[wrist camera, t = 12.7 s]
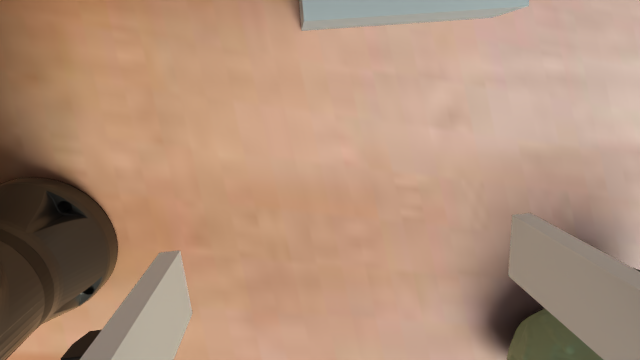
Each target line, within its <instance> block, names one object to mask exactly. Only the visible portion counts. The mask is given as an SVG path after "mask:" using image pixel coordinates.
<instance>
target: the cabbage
mask: <svg viewBox="0 0 640 360" xmlns="http://www.w3.org/2000/svg"><path fill="white" fill-rule="evenodd" d="M507 360H603V359H602V358H601V357H600V356H599V355H598V354H596V353H595V352H594V351H593V350H592V349H591V348H590V347H588V346H587V345H586V344H585V343H584V342H583V341H582V340H580V339H579V338H578V337H577V336H576V335H575V334H574V333H573V332H571V331H570V330H569V329H568V328H567V327H566V326H565V325H563V324H562V323H561V322H560V321H559V320H558V319H557V318H555V317H554V316H553V315H552V314H551V313H550V312H549V311H547V310H546V309H543V310H541V311H539V312H537V313H535V314H533V315H531V316H529V317H528V318H526V319H525V320H524V321H522V322H521V323H520V325H519V326H518V328H517V329H516V331H515V334H514V337H513V339H512V341H511V344H510V347H509V350H508V355H507Z"/></svg>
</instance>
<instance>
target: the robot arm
mask: <svg viewBox="0 0 640 360" xmlns="http://www.w3.org/2000/svg"><path fill="white" fill-rule="evenodd" d="M117 253H118V246H117V239H116V235H115V231H114V229H113V226H112V224H111V222H110V220H109V219H108V217H107V215H106V214H105V213H104V211H103V210H102V209H101V208H100V207H99V205H98V204H97V203H96V202H95V201H93V200H92V199H91V198H90V197H89V196H87V195H86V194H84V193H83V192H81V191H80V190H78V189H76V188H74V187H72V186H70V185H68V184H65V183H63V182H60V181H56V180H52V179H47V178H38V177H29V178H19V179H14V180H11V181H8V182H5V183H2V184H0V360H6V359H7V358H8V357H9V356H10V355H11V354H12V353H13V352H14V351H15V350H16V349H17V348H18V347H19V346H20V345H21V344H22V343H23V342H24V341H25V340H26V339H27V338H28V337H29V336H30V335H31V334H32V333H33V332H34V331H35V330H36V329H37V328H38V327H39V326H40V325H41V324H43V323H45V322H47V321H49V320H51V319H53V318H55V317H58V316H60V315H62V314H64V313H66V312H68V311H70V310H72V309H75V308H77V307H79V306H80V305H82V304H83V303H85V302H86V301H88V300H89V299H90V298H91V297H93V296H94V295H95V294H96V293H97V292H98V290H99V289H100V288H101V287H102V286H103V285H104V284H105V283H106V282H107V280H108V279H109V277H110V276H111V274H112V272H113V270H114V267H115V264H116V261H117ZM508 276H509V277H510V278H511V279H512V280H513V281H514V282H516V283H517V284H518V285H519V286H520V287H521V288H522V289H524V290H525V291H526V292H527V293H528V294H529V295H530V296H531V297H533V298H534V299H535V300H536V301H537V302H538V303H539V304H541V305H542V306H543V307H544V308H545V309H546V310H547V311H549V312H550V313H551V314H552V315H553V316H554V317H555V318H557V319H558V320H559V321H560V322H561V323H562V324H563V325H565V326H566V327H567V328H568V329H569V330H570V331H571V332H573V333H574V334H575V335H576V336H577V337H578V338H579V339H580V340H582V341H583V342H584V343H585V344H586V345H587V346H588V347H590V348H591V349H592V350H593V351H594V352H595V353H596V354H598V355H599V356H600V357H601V358H602V359H603V360H640V270H638V269H635V268H632V267H630V266H628V265H626V264H624V263H623V262H621V261H619V260H617V259H615V258H613V257H611V256H610V255H608V254H606V253H604V252H602V251H600V250H598V249H597V248H595V247H593V246H591V245H589V244H587V243H585V242H584V241H582V240H580V239H578V238H576V237H574V236H572V235H571V234H569V233H567V232H565V231H563V230H561V229H559V228H557V227H556V226H554V225H552V224H550V223H548V222H546V221H544V220H543V219H541V218H539V217H537V216H535V215H533V214H531V213H525V214H516V215H512V226H511V241H510V256H509V270H508ZM191 316H192V308H191V303H190V298H189V293H188V288H187V283H186V278H185V273H184V268H183V262H182V257H181V252H180V251H171V252H161V253H159V254H158V255H157V257H156V258H155V259H154V261H153V262H152V263H151V265H150V266H149V267H148V269H147V270H146V271H145V273H144V274H143V276H142V277H141V278H140V280H139V281H138V282H137V284H136V285H135V286H134V288H133V289H132V290H131V292H130V293H129V294H128V296H127V297H126V298H125V300H124V301H123V302H122V304H121V305H120V306H119V308H118V309H117V310H116V312H115V313H114V314H113V316H112V317H111V318H110V320H109V321H108V322H107V324H106V325H105V326H104V328H103V329H102V330H96V331H89V332H88V333H87V334H86V335H84V336H83V337H82V338H80V339H79V340H78V341H76V342H75V343H74V344H72V346H71V347H70V348H69V349H68V350H67V352H66V353H65V354H64V355H63V357H62V358H61V360H174V357H175V355H176V352H177V350H178V347H179V345H180V343H181V340H182V338H183V335H184V333H185V330H186V328H187V325H188V323H189V321H190V318H191Z"/></svg>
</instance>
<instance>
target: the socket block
mask: <svg viewBox="0 0 640 360" xmlns="http://www.w3.org/2000/svg"><path fill="white" fill-rule="evenodd" d="M528 6H529V0H299V8H300V20H301V31H306V30H320V29H335V28H350V27H364V26H379V25H393V24H408V23H423V22H437V21H452V20H467V19H481V18H493V17H496V16H499V15H502V14H506V13H509V12H512V11H515V10H518V9H521V8H525V7H528Z"/></svg>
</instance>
